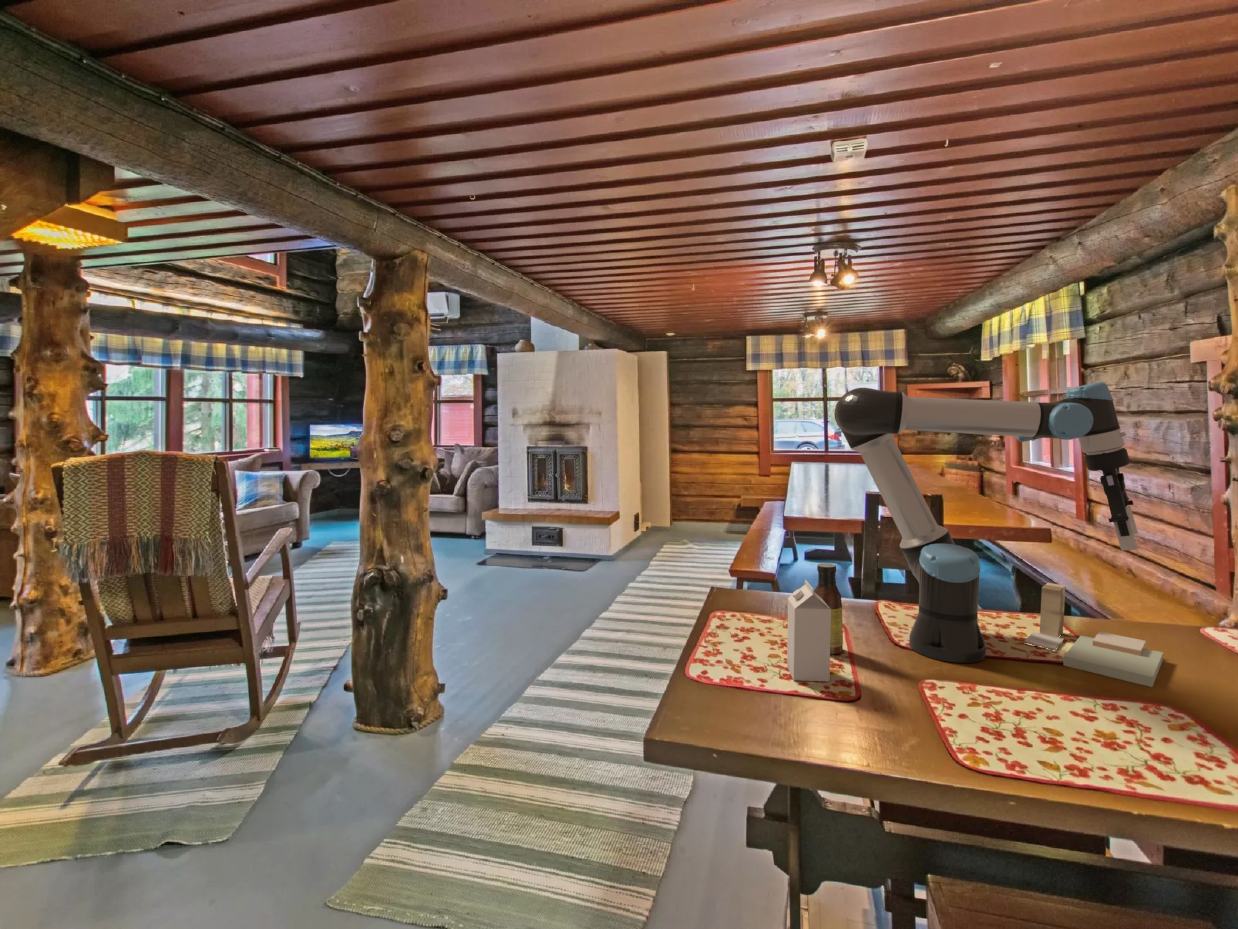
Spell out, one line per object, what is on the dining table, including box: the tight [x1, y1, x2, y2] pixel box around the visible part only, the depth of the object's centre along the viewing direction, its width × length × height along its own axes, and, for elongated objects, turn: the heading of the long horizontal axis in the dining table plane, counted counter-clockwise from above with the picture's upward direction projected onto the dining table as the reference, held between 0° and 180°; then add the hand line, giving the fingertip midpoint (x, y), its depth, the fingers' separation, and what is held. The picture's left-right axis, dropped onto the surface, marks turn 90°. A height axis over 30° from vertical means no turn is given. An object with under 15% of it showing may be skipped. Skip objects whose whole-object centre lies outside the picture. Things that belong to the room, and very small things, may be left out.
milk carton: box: [786, 579, 831, 683], centre depth 119 cm, size 7×7×19 cm
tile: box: [1093, 631, 1147, 656], centre depth 128 cm, size 8×8×1 cm
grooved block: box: [1063, 634, 1164, 688], centre depth 123 cm, size 18×14×2 cm
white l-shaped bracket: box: [1022, 582, 1066, 651], centre depth 137 cm, size 15×6×12 cm, turn 132°
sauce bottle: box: [814, 562, 844, 655], centre depth 131 cm, size 7×6×20 cm
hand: (1130, 541), depth 130 cm, fingers open, 13 cm apart
